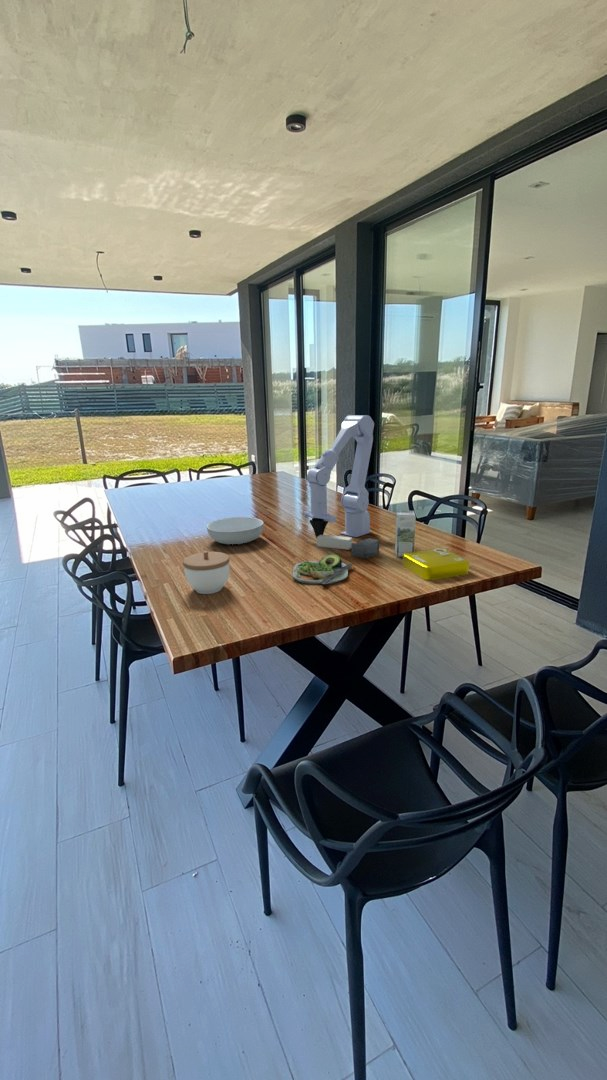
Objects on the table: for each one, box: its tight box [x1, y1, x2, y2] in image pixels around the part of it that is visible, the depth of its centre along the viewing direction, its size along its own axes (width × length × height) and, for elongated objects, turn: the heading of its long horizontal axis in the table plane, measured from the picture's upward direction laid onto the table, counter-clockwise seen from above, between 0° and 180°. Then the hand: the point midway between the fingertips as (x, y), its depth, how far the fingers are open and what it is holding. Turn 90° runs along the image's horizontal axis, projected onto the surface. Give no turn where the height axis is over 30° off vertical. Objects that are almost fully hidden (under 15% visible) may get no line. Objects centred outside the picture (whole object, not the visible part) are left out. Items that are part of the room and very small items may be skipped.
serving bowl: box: [206, 516, 264, 546], centre depth 182 cm, size 21×21×7 cm
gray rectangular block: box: [316, 534, 353, 550], centre depth 173 cm, size 4×12×4 cm, turn 64°
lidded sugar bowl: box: [182, 550, 230, 595], centre depth 136 cm, size 13×13×11 cm
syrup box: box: [394, 510, 417, 558], centre depth 160 cm, size 6×6×14 cm
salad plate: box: [292, 554, 353, 585], centre depth 145 cm, size 19×18×5 cm
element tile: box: [402, 547, 470, 581], centre depth 148 cm, size 15×15×5 cm
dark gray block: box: [350, 537, 380, 560], centre depth 163 cm, size 7×6×5 cm
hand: (319, 538), depth 178 cm, fingers closed
